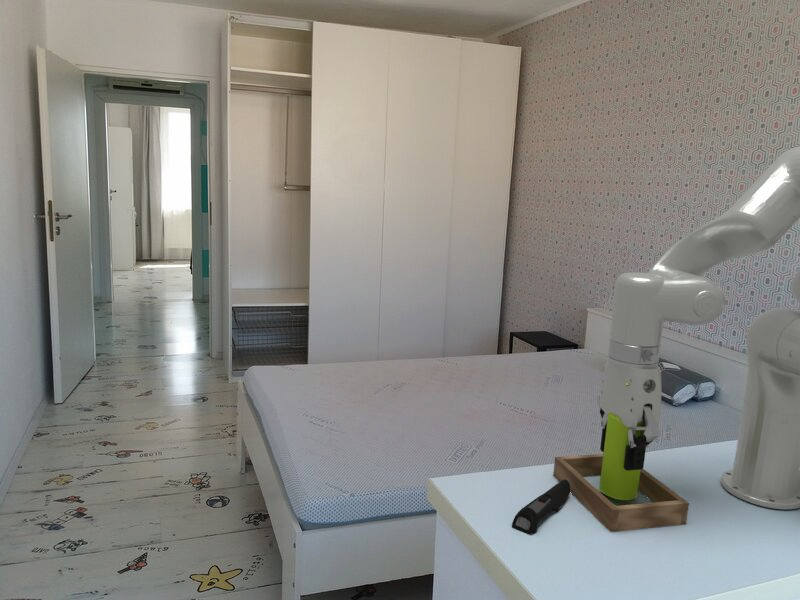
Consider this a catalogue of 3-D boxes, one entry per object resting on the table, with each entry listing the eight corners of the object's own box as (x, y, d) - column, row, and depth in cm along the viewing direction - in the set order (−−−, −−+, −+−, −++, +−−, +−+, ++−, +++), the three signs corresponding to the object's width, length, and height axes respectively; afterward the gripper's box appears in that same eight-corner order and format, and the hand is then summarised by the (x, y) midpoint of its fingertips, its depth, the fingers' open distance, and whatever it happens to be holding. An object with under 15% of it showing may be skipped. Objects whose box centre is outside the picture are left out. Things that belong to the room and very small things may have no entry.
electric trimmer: (575, 500, 104) (577, 482, 103) (532, 538, 92) (534, 518, 91) (554, 492, 106) (556, 474, 105) (509, 528, 94) (511, 508, 93)
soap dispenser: (598, 498, 101) (612, 379, 97) (600, 479, 107) (613, 366, 103) (637, 506, 99) (653, 385, 95) (637, 486, 106) (652, 371, 101)
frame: (619, 470, 114) (621, 452, 113) (686, 524, 97) (689, 503, 96) (553, 475, 111) (555, 457, 110) (610, 531, 94) (613, 510, 93)
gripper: (691, 368, 92) (675, 483, 95) (623, 337, 108) (611, 437, 112) (646, 369, 90) (631, 487, 93) (583, 338, 106) (573, 439, 110)
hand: (621, 458), depth 103 cm, fingers closed on soap dispenser, 6 cm apart
